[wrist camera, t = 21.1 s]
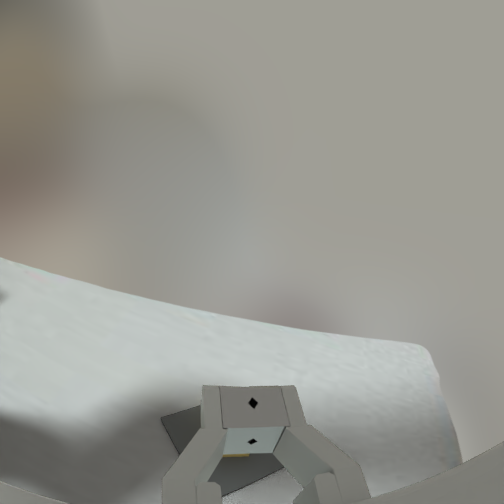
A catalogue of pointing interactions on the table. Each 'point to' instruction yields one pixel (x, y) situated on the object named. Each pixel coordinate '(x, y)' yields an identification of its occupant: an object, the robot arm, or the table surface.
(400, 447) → the table surface
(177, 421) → the mat
